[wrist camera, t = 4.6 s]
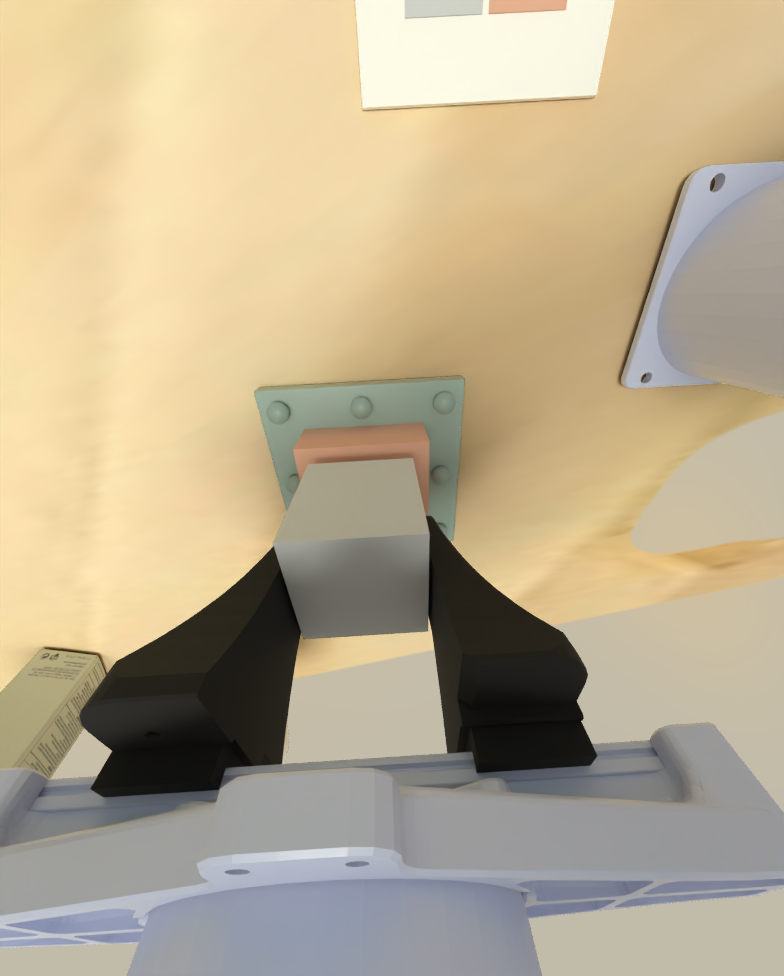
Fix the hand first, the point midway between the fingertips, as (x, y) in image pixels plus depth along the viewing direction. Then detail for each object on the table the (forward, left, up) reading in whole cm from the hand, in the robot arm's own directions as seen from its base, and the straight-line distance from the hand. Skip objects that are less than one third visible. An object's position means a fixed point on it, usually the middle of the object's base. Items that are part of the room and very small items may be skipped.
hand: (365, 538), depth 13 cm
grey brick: (0, 0, -2) cm, 2 cm away
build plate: (0, 0, -6) cm, 6 cm away
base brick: (0, 0, -5) cm, 5 cm away
